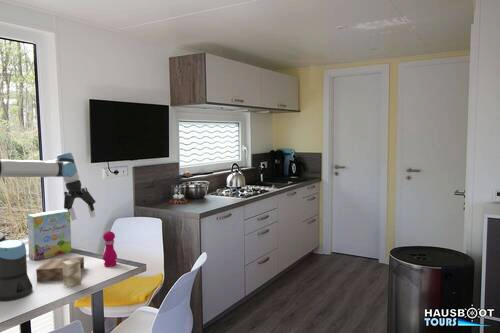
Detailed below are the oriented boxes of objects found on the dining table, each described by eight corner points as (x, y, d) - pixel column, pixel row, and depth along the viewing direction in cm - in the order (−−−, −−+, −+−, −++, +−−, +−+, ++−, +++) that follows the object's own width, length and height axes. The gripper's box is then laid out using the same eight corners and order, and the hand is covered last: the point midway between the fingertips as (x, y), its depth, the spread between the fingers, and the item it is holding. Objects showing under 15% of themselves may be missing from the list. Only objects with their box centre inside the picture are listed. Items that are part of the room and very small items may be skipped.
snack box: (35, 261, 220) (32, 216, 218) (28, 258, 225) (25, 214, 223) (72, 251, 237) (70, 210, 235) (65, 249, 243) (63, 208, 241)
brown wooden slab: (36, 281, 189) (36, 269, 189) (47, 270, 205) (47, 259, 205) (76, 278, 192) (75, 267, 192) (84, 268, 208) (83, 257, 208)
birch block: (68, 287, 181) (66, 264, 180) (63, 284, 186) (62, 261, 185) (81, 284, 186) (80, 261, 185) (76, 281, 190) (75, 258, 189)
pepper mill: (105, 268, 207) (103, 231, 206) (101, 264, 213) (100, 228, 212) (118, 265, 211) (117, 229, 210) (115, 262, 217) (113, 226, 216)
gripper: (95, 175, 210) (106, 213, 212) (60, 182, 219) (71, 218, 221) (85, 179, 203) (96, 217, 206) (49, 186, 212) (61, 223, 215)
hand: (83, 218), depth 213 cm, fingers open, 13 cm apart
